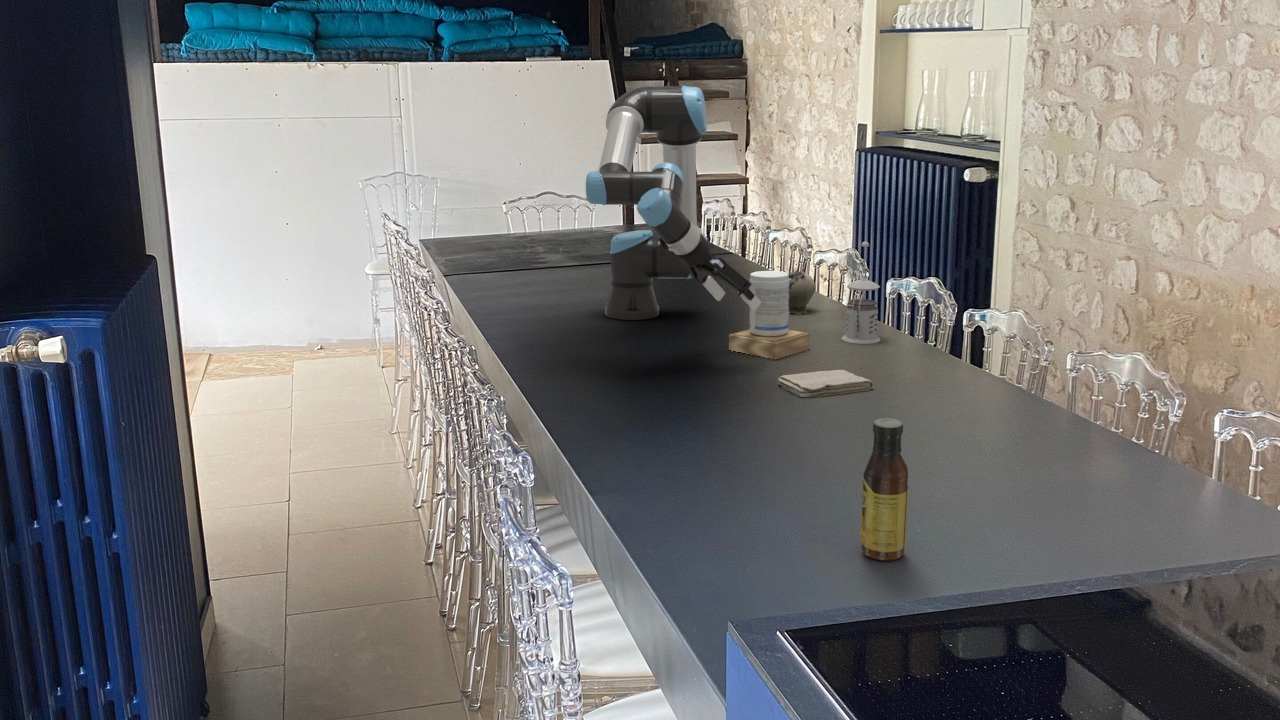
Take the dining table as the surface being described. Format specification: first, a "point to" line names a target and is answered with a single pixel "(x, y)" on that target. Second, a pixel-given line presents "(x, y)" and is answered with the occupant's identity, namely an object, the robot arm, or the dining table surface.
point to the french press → (861, 313)
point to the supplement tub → (770, 303)
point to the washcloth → (824, 383)
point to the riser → (769, 344)
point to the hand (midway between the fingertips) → (739, 301)
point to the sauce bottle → (885, 494)
